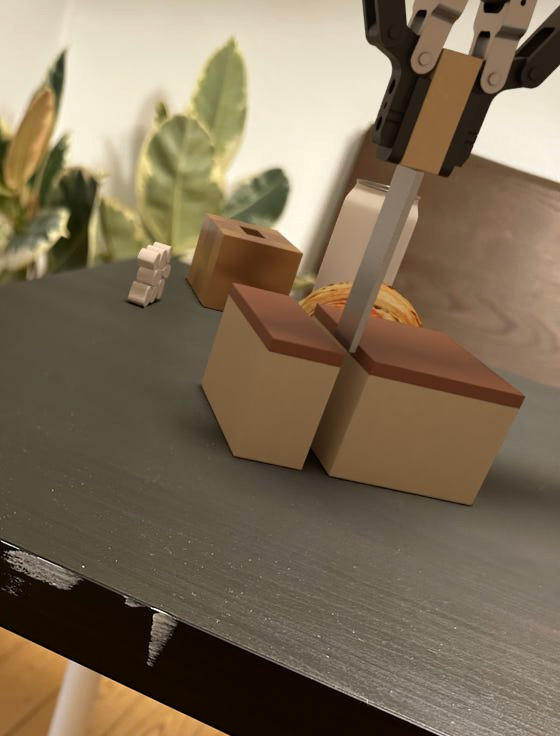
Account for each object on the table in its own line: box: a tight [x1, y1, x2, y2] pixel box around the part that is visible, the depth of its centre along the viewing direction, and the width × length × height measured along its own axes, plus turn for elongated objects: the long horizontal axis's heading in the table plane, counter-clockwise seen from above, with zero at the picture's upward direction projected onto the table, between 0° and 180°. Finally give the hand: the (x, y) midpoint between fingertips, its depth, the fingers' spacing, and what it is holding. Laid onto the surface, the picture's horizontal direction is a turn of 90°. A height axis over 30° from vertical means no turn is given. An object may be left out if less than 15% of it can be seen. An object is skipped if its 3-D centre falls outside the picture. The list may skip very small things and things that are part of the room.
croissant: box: [297, 281, 423, 328], centre depth 73 cm, size 21×10×8 cm, turn 163°
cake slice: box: [200, 283, 345, 471], centre depth 56 cm, size 4×12×7 cm, turn 2°
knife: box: [334, 47, 483, 353], centre depth 49 cm, size 2×3×14 cm, turn 2°
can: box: [311, 178, 422, 293], centre depth 85 cm, size 6×6×12 cm
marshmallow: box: [127, 241, 174, 308], centre depth 78 cm, size 5×1×4 cm, turn 156°
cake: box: [310, 303, 526, 506], centre depth 58 cm, size 9×12×7 cm
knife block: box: [186, 212, 304, 312], centre depth 86 cm, size 7×10×6 cm
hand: (412, 166), depth 48 cm, fingers closed on knife, 2 cm apart
